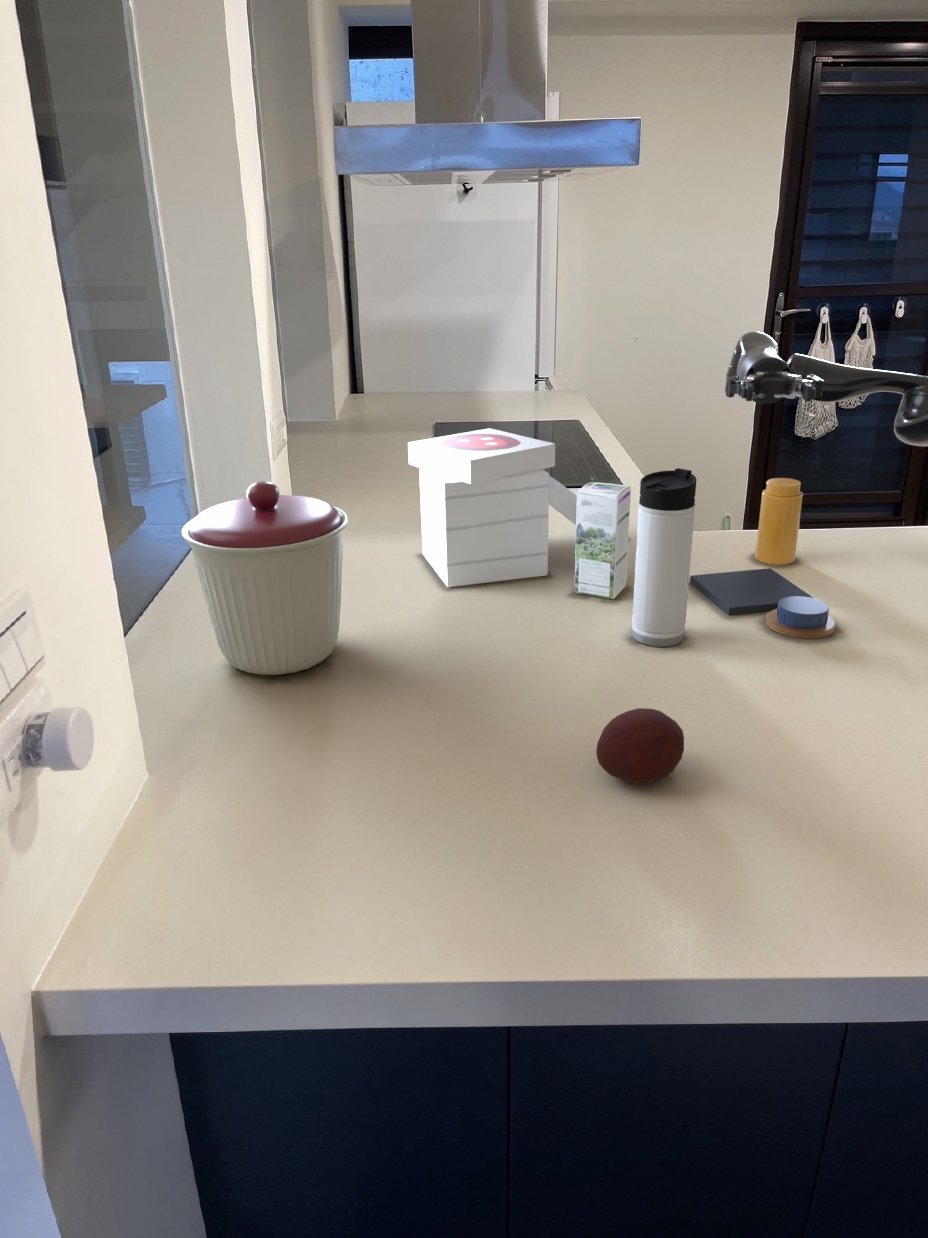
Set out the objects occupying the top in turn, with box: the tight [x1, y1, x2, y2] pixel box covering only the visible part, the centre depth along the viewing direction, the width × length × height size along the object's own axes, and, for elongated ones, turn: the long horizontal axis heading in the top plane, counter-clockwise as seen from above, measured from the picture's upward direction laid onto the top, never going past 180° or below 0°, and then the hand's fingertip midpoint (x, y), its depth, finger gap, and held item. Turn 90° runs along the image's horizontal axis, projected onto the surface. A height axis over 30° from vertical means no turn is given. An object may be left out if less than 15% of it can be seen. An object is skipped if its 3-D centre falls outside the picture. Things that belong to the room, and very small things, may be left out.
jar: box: [754, 477, 804, 566], centre depth 132 cm, size 6×6×12 cm
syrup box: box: [574, 481, 632, 600], centre depth 121 cm, size 6×6×14 cm
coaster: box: [765, 608, 836, 640], centre depth 112 cm, size 8×8×1 cm
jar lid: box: [777, 596, 830, 629], centre depth 111 cm, size 6×6×2 cm
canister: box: [181, 480, 350, 676], centre depth 103 cm, size 18×18×21 cm
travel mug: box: [631, 467, 697, 648], centre depth 106 cm, size 6×7×20 cm
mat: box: [689, 567, 816, 616], centre depth 121 cm, size 12×12×1 cm
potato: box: [595, 707, 685, 785], centre depth 81 cm, size 7×8×6 cm
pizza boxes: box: [407, 427, 633, 588], centre depth 132 cm, size 19×30×18 cm, turn 106°
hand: (779, 394), depth 135 cm, fingers open, 8 cm apart
